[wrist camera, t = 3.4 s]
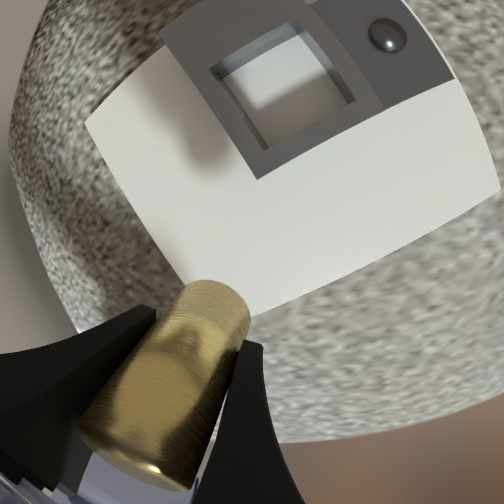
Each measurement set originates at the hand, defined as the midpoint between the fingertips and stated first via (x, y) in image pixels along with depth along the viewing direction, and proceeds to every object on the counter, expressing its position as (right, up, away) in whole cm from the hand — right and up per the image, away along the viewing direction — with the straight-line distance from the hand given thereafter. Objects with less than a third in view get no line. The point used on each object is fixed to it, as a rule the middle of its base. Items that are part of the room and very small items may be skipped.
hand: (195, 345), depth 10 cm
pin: (0, +1, +2) cm, 2 cm away
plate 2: (+6, +13, +3) cm, 15 cm away
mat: (+4, +10, +5) cm, 12 cm away
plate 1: (+3, +13, +3) cm, 14 cm away
